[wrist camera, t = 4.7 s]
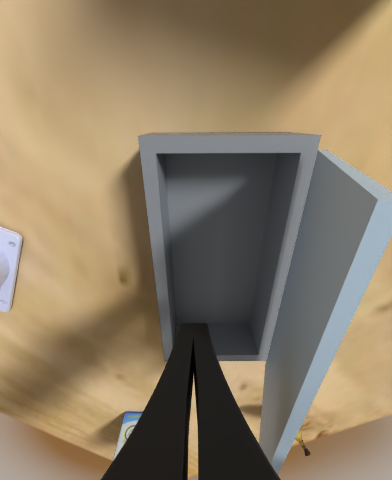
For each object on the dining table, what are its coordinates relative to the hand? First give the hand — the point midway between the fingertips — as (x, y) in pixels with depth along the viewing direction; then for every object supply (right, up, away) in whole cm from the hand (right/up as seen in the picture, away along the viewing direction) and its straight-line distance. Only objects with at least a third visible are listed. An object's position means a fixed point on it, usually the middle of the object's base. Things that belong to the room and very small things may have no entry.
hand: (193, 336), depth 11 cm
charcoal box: (+2, +4, +7) cm, 9 cm away
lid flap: (+5, 0, 0) cm, 5 cm away
